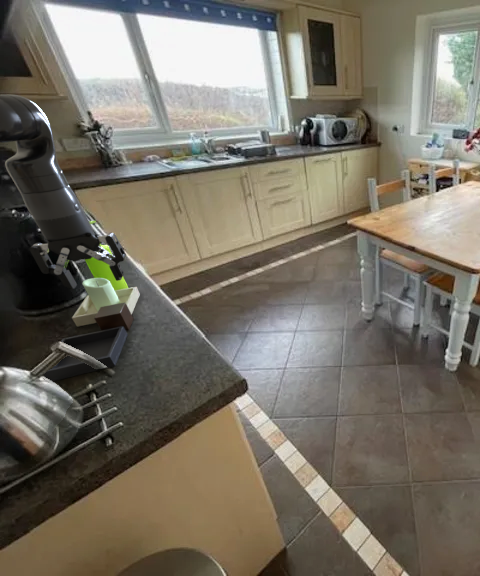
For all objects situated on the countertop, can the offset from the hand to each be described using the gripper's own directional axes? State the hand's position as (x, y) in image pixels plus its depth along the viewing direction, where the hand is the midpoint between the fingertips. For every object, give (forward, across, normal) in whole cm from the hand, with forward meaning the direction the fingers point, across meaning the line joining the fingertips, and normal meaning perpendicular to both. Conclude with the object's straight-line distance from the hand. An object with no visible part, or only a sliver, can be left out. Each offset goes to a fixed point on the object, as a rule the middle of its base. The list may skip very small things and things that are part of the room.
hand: (96, 283), depth 73 cm
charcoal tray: (+12, +3, +10) cm, 16 cm away
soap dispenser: (+12, +5, -21) cm, 25 cm away
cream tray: (+12, +4, -10) cm, 16 cm away
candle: (+12, +4, -10) cm, 16 cm away
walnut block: (+12, 0, 0) cm, 12 cm away
